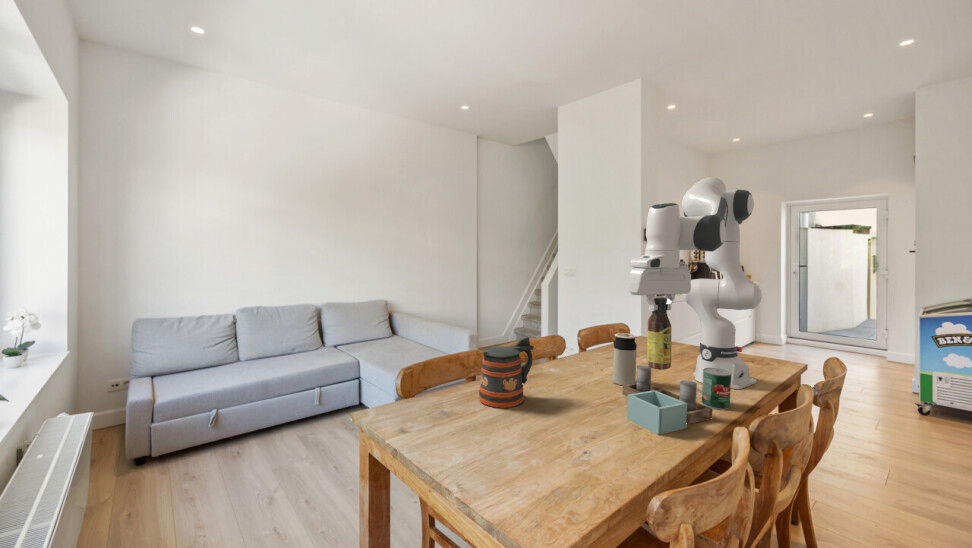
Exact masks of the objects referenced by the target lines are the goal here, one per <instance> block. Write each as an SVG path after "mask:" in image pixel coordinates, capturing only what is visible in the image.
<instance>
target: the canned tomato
mask: <svg viewBox="0 0 972 548" xmlns="http://www.w3.org/2000/svg"><path fill="white" fill-rule="evenodd" d="M731 389H732V388H731V372H729V371H727V370H723V369H718V368H704V369H703V383H702V387H701V404H702V405H704V406H707V407H709V408H712V410H713V409H714V410H719V411H721V410H723V411H726V410H729V409H730V408H731V407H730V405H731V391H732V390H731Z"/></svg>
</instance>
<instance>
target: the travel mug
mask: <svg viewBox="0 0 972 548" xmlns="http://www.w3.org/2000/svg"><path fill="white" fill-rule="evenodd" d="M614 337H615V340H614V342H613V363H612V364H613V365H612V382H613V383H615V385H618V386H622V387H623V385H628V384H635V383H636V379H637V346H638V344H637V343H636V338H637V335H635V334H633V333H632V334H631V333H622V332H620V333H619V332H617V333H615V334H614Z"/></svg>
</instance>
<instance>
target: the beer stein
mask: <svg viewBox="0 0 972 548" xmlns="http://www.w3.org/2000/svg"><path fill="white" fill-rule="evenodd" d="M530 343H531V342H530V337H529V336H525V337H521V338H520V339H519V340H518V341H517V342H516V344H514V345H513V344H512V345H509V346H493V347H490V348H487V349H485V350H484V351H483V356H482V363H481V368H480V369H481V370H480V371H481V378H480V379H481V380H480V384H479V389H478V390H479V391H478V392H479V393H478V400H479V402H480V404H482V405H484V406H487V407H491V408H494V409H495V408H496V409H510V408H515V406H516V407H517V406H519V405H521V404H522V403H523V401H524V397H525V395H524V385H525V384H526V382H527V381H528V378H527V377H528V375H529V373H530V371H531V368H532V365H533V353H532V351H533V350H534V345H532V344H530ZM522 352H525V354H526V356H527V360H526V362H525V364H523V365H522V358H521V356H520V354H521V353H522Z"/></svg>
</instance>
